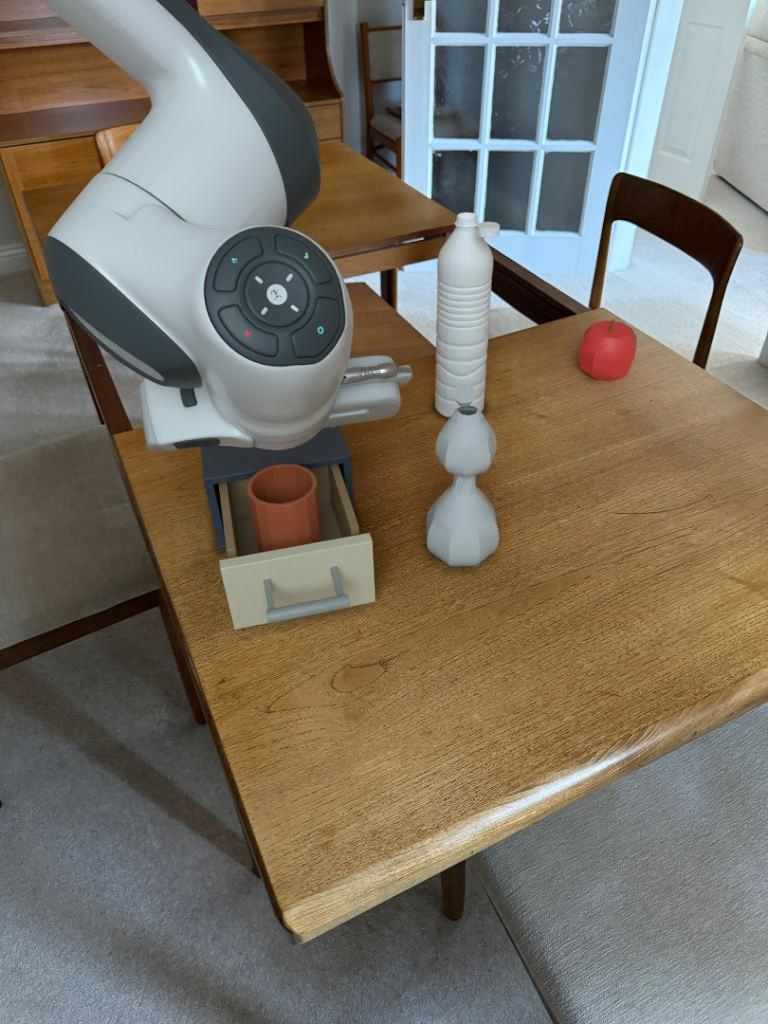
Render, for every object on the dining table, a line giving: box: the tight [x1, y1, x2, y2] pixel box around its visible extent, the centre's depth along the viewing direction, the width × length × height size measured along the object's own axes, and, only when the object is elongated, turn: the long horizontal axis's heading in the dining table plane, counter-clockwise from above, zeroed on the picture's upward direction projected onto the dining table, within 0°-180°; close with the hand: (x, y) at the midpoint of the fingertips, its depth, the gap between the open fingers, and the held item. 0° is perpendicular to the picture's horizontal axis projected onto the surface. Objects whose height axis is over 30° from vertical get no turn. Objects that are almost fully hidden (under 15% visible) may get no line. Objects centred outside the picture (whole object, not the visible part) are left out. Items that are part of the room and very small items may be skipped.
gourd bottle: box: [425, 385, 500, 568], centre depth 70 cm, size 8×8×20 cm
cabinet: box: [200, 426, 356, 553], centre depth 82 cm, size 17×15×10 cm
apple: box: [578, 319, 637, 382], centre depth 102 cm, size 8×8×8 cm
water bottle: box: [434, 212, 501, 418], centre depth 90 cm, size 9×6×25 cm
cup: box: [247, 464, 324, 553], centre depth 71 cm, size 6×6×9 cm
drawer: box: [218, 464, 377, 630], centre depth 71 cm, size 20×13×8 cm, turn 14°
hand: (273, 427), depth 65 cm, fingers open, 8 cm apart
